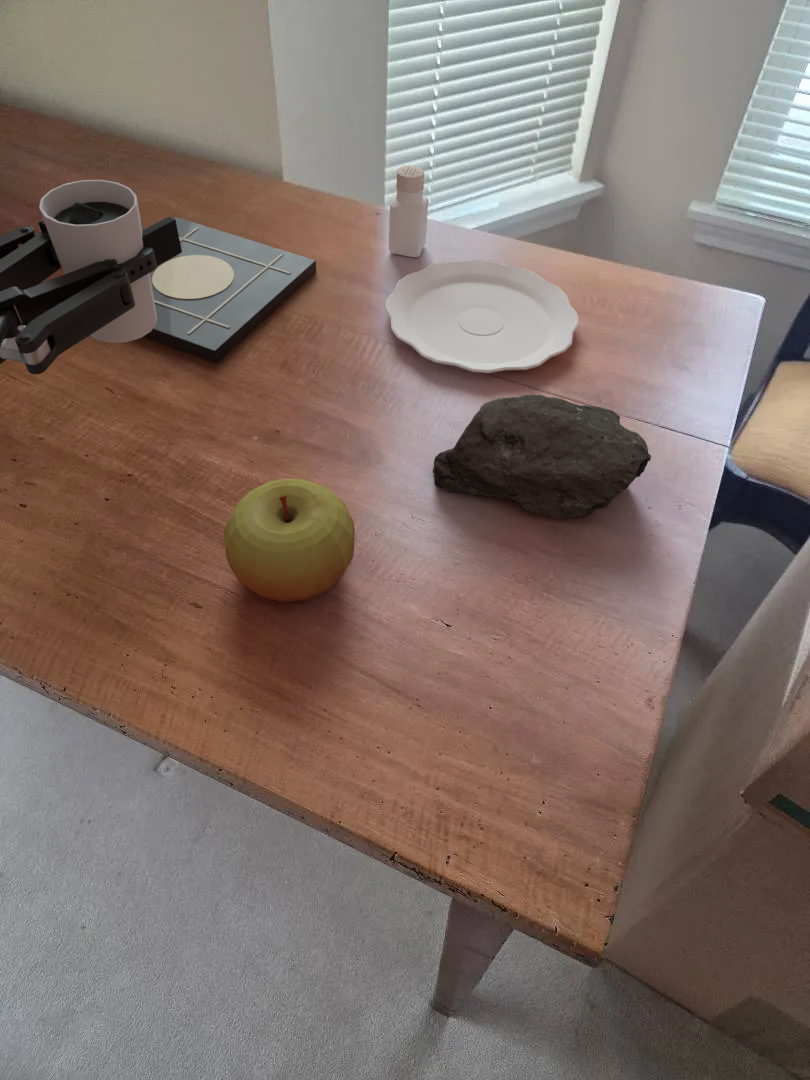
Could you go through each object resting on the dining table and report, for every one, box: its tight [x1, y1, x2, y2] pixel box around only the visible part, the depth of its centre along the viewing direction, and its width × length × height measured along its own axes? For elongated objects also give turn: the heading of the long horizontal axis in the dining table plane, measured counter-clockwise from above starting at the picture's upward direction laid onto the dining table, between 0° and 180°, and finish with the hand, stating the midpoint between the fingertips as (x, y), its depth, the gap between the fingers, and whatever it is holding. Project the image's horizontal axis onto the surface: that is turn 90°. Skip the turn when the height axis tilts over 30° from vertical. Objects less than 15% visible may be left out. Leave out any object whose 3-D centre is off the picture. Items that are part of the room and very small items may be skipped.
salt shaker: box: [388, 164, 429, 258], centre depth 89 cm, size 4×4×10 cm
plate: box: [384, 259, 580, 374], centre depth 83 cm, size 21×21×2 cm
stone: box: [432, 394, 652, 518], centre depth 65 cm, size 18×9×10 cm
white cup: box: [38, 179, 157, 344], centre depth 57 cm, size 7×7×10 cm
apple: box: [223, 478, 356, 603], centre depth 57 cm, size 10×10×8 cm
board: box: [144, 216, 317, 364], centre depth 85 cm, size 20×20×2 cm
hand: (153, 225), depth 60 cm, fingers closed on white cup, 4 cm apart
